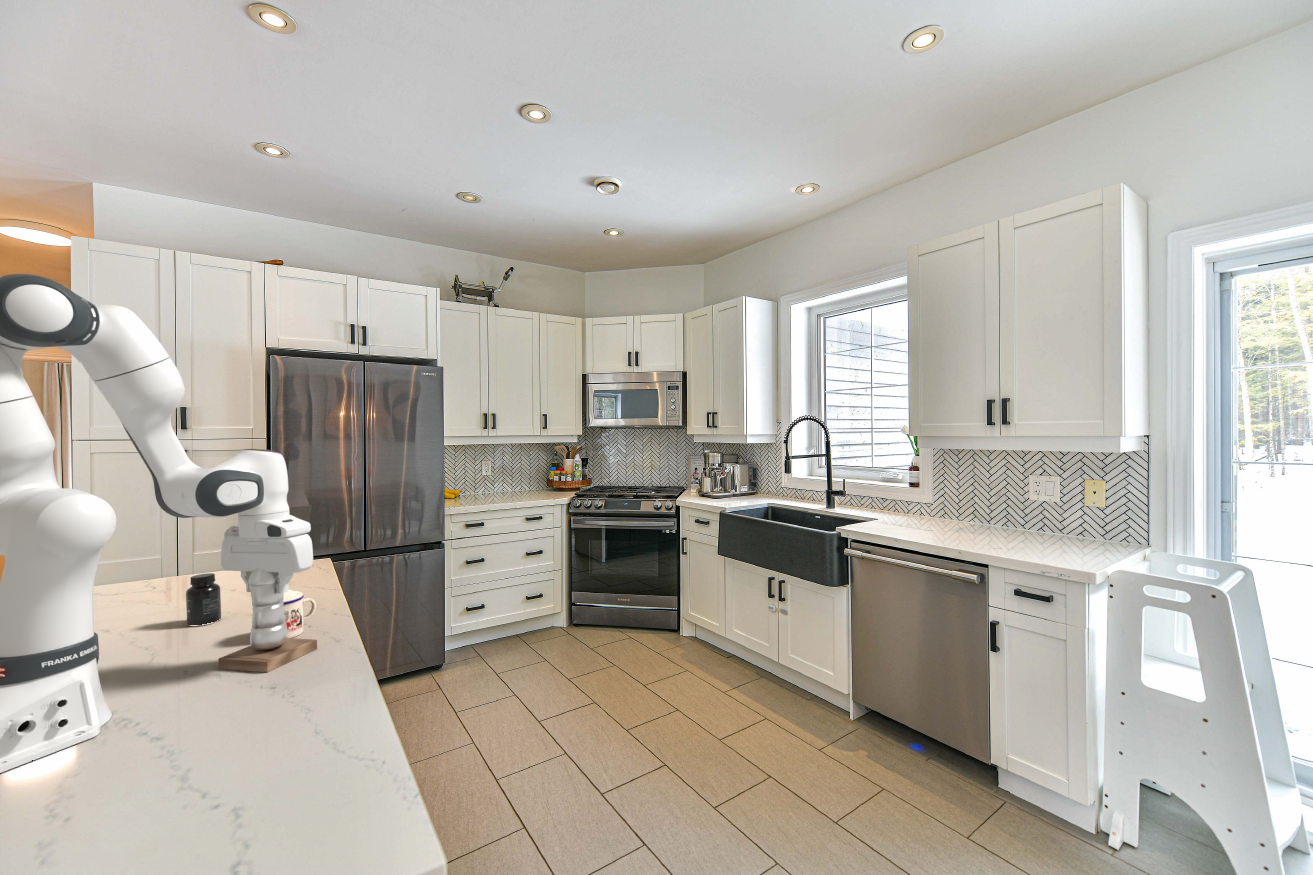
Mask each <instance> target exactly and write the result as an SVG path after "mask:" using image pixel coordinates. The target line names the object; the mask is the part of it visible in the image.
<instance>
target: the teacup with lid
mask: <svg viewBox="0 0 1313 875" xmlns="http://www.w3.org/2000/svg"><path fill="white" fill-rule="evenodd" d="M307 602H310V603H311V609H310V610H309V613H308V614H306V615H304V606H303V605H304V604H303V603H307ZM283 608H284V616H285V622H286V625H287V630H288V634H287V638H296V637H298V636H300V635H301V634H303V632H304V629H305V628H304V621H305V620H308V619H309V618H311V617H313V616H314V613H315V611H316V609H317V602H316V601H315V600H314V598H313V599H312V598H309V597H305V598H304V594H303V592H301V591H296V590H295V591H294V590H292V589H290V588H289V591H288V592H286V593H284V600H283Z"/></svg>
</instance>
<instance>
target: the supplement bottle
mask: <svg viewBox="0 0 1313 875" xmlns="http://www.w3.org/2000/svg"><path fill="white" fill-rule="evenodd" d="M215 582H216V575H215V573H211V572H210V573H208V572H207V573H199V574H196V575H193V576H191V577H190V582H189V583H190V586H191V587H189V588H188V589H187V590H186V592H185V604H186V605H185V608H186V609H185V610H186V625H187V624H188V625H202V624H207V623H211V622H215V621H217V620H219V619H220V620H221V619H222V602H221V600H222V598H221V586H220V585H219V584H218V583H215ZM220 620H219V621H220ZM188 625H187V626H188Z"/></svg>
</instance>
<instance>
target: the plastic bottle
mask: <svg viewBox="0 0 1313 875" xmlns="http://www.w3.org/2000/svg"><path fill="white" fill-rule="evenodd" d="M280 580H281V577H279V572H266V571H264V570H263V569H261V568H256V569H255V570H253V572H252V573H251V575H250V577H249V580H248V582H249V588H250V592H249V593H250V598H251V605H252V608H251V609H252V620H251V629H250V635H249V643H250V646H252V647H253V648H254V649H255V650H267V649H272V648H275V647H278V646H281V645H283V644H284V643H285V641H286V640H287V634H288V630H287V625H286V622H285V616H284V608H283V600H284V593H283V594H282V593H276V585H278V584H279V583H280Z"/></svg>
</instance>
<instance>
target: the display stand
mask: <svg viewBox="0 0 1313 875" xmlns="http://www.w3.org/2000/svg"><path fill="white" fill-rule="evenodd" d="M316 650H318V639H312V638H311V639H310V638H296V637H293V638H287V640H286V641H285V643H284V644H283V645H281V646H278V647H275V648H272V649H267V650H255V649H254V648H253V647H252V646H251V645H249V646H246V647H244V648H240V649H239V650H236V651H234V652H231V653H229V654H225V655H223V656H222V657H219V658H218V669H221V670H222V669H223V670H232V671H245V670H246V671H247V670H248V672H257V671H260V672H259V673H269V672H271V670H272V671H274V670H276V669H278V668H279V667H283V666H284V665H287V664H288V663H290V662H293V661H294V660H297V659H299V658H301V657H303V656H305V655H308V654H309V653H311V652H315V651H316Z"/></svg>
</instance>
